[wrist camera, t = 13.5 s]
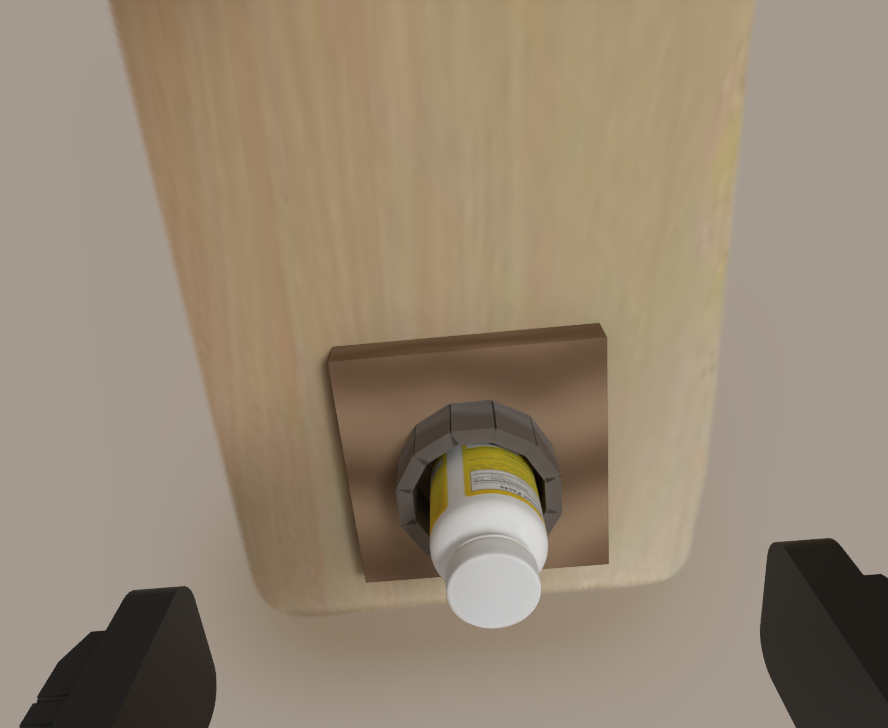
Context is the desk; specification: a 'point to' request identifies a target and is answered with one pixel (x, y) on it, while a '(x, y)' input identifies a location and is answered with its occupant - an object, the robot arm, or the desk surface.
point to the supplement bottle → (487, 533)
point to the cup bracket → (474, 434)
